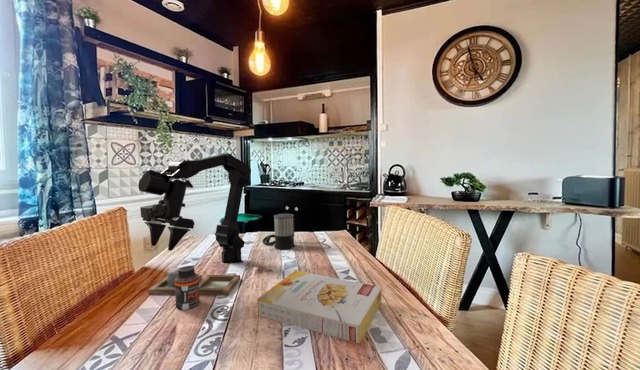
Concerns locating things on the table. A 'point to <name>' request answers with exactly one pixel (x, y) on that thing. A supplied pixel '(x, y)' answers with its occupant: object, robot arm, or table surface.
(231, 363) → the table surface
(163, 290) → the walnut twin holder
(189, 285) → the supplement bottle
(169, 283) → the seated grey knob
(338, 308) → the cereal box
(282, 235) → the milk frother
